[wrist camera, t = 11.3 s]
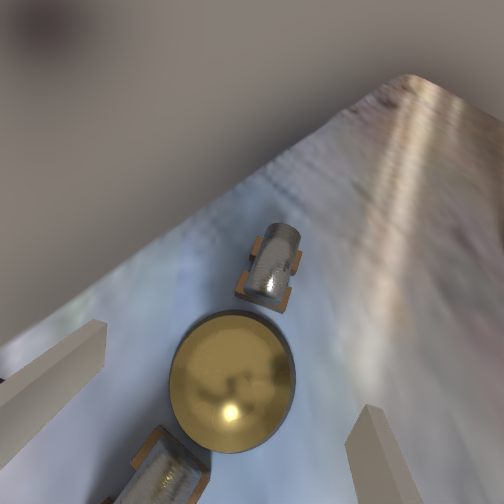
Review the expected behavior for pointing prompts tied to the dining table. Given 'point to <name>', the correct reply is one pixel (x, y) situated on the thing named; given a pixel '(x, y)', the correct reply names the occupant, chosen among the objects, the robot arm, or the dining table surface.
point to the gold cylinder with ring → (230, 384)
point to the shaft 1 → (164, 474)
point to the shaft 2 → (271, 268)
